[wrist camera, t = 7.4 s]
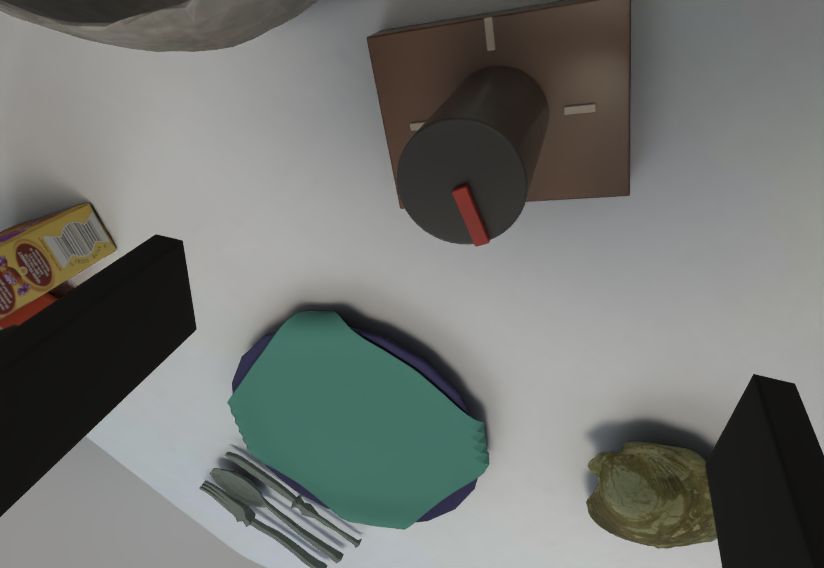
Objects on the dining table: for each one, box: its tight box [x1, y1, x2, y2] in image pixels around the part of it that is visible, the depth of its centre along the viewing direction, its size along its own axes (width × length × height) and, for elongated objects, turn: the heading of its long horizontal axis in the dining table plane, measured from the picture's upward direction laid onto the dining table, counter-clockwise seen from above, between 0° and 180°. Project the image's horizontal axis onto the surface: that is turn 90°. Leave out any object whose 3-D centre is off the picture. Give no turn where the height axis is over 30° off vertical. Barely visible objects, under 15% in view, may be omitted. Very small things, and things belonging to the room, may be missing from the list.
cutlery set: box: [200, 311, 489, 568], centre depth 47 cm, size 20×30×2 cm, turn 146°
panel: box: [367, 0, 631, 209], centre depth 29 cm, size 12×9×2 cm
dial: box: [397, 66, 549, 246], centre depth 24 cm, size 5×5×9 cm
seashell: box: [586, 442, 717, 549], centre depth 38 cm, size 10×7×10 cm
